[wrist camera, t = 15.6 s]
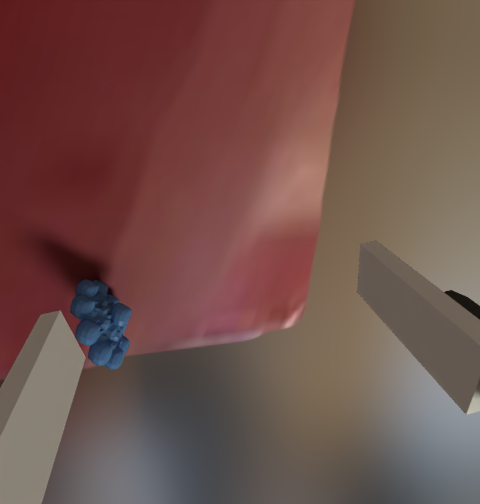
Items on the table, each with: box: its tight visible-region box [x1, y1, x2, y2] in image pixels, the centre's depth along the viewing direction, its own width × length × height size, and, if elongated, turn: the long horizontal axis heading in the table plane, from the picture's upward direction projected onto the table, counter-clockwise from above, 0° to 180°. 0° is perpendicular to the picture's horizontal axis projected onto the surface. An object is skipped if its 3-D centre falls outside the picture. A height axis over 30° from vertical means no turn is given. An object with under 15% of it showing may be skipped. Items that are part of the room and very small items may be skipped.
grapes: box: [70, 279, 131, 370], centre depth 43 cm, size 12×7×12 cm, turn 20°
